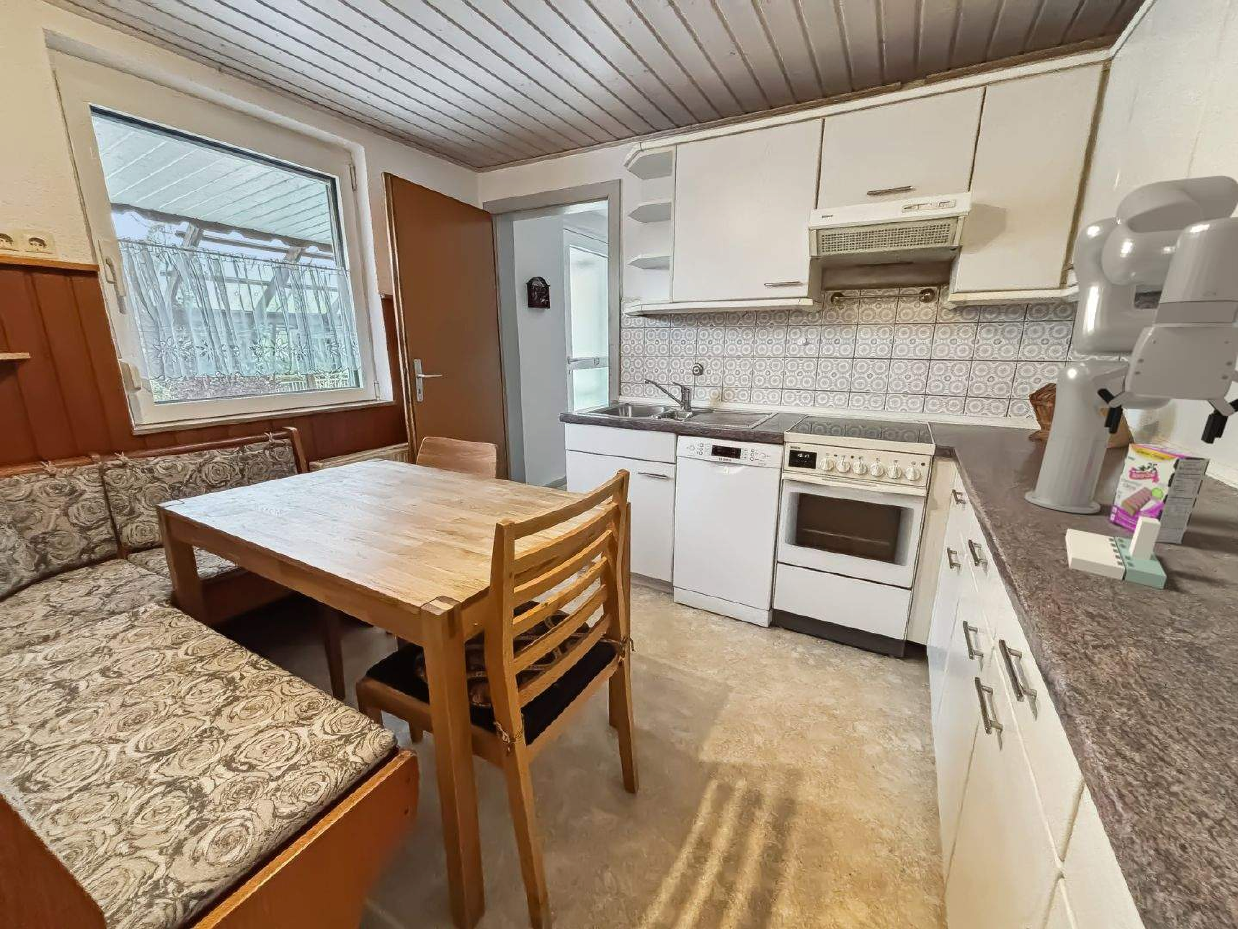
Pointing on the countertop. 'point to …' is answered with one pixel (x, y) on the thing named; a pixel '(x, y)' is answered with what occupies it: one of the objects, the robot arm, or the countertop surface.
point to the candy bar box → (1158, 489)
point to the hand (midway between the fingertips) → (1157, 437)
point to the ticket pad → (1094, 554)
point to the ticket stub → (1142, 554)
